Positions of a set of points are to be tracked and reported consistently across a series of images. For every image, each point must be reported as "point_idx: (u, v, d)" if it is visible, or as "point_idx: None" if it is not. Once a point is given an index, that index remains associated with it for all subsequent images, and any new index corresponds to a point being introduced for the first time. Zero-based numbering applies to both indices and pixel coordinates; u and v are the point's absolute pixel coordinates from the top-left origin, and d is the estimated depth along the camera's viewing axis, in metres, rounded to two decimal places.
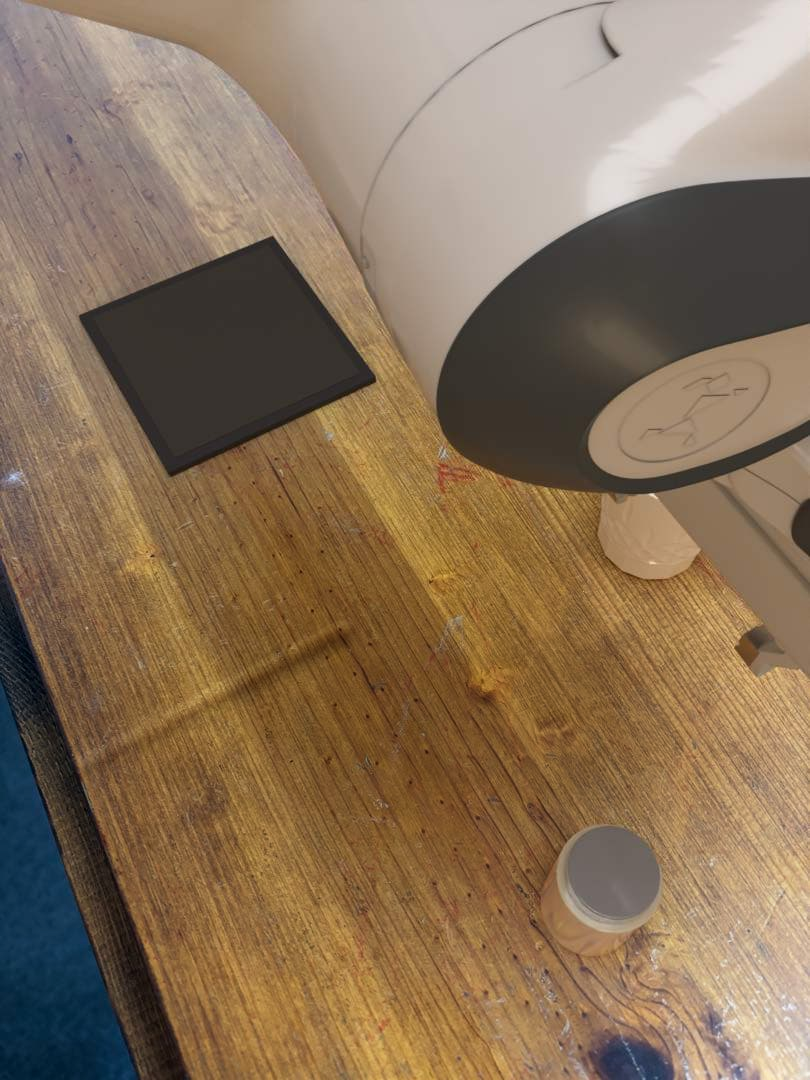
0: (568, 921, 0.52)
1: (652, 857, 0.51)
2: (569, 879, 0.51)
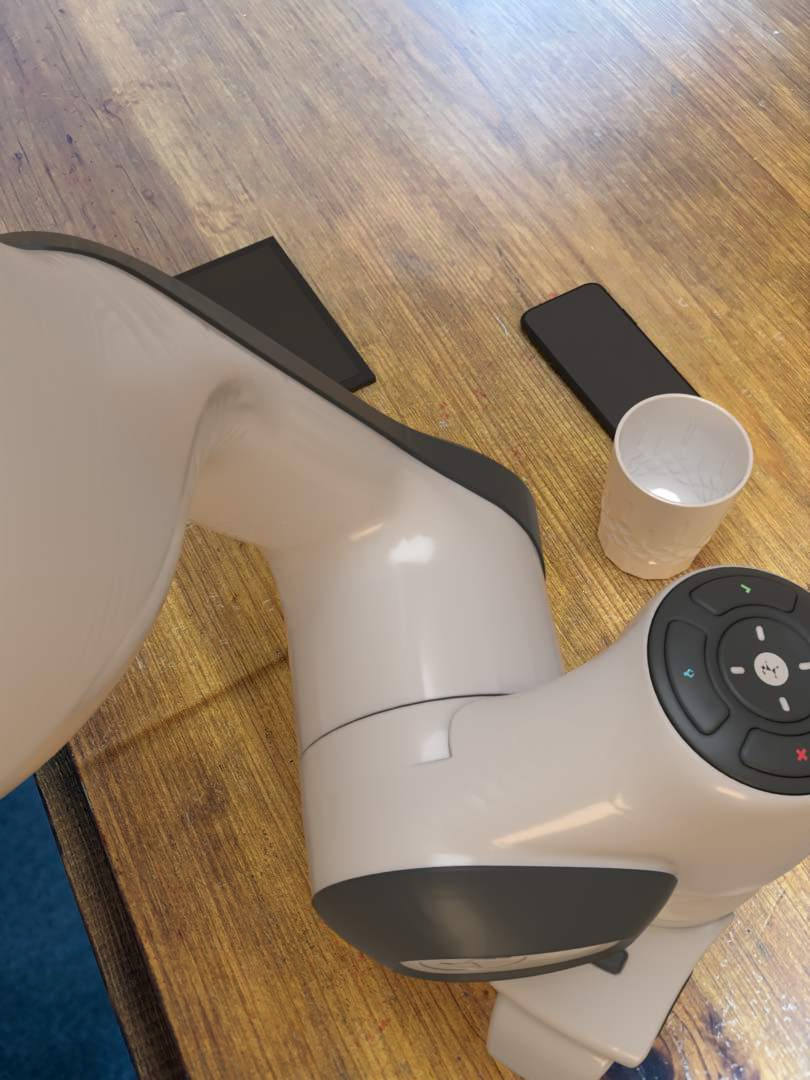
0: None
1: None
2: None
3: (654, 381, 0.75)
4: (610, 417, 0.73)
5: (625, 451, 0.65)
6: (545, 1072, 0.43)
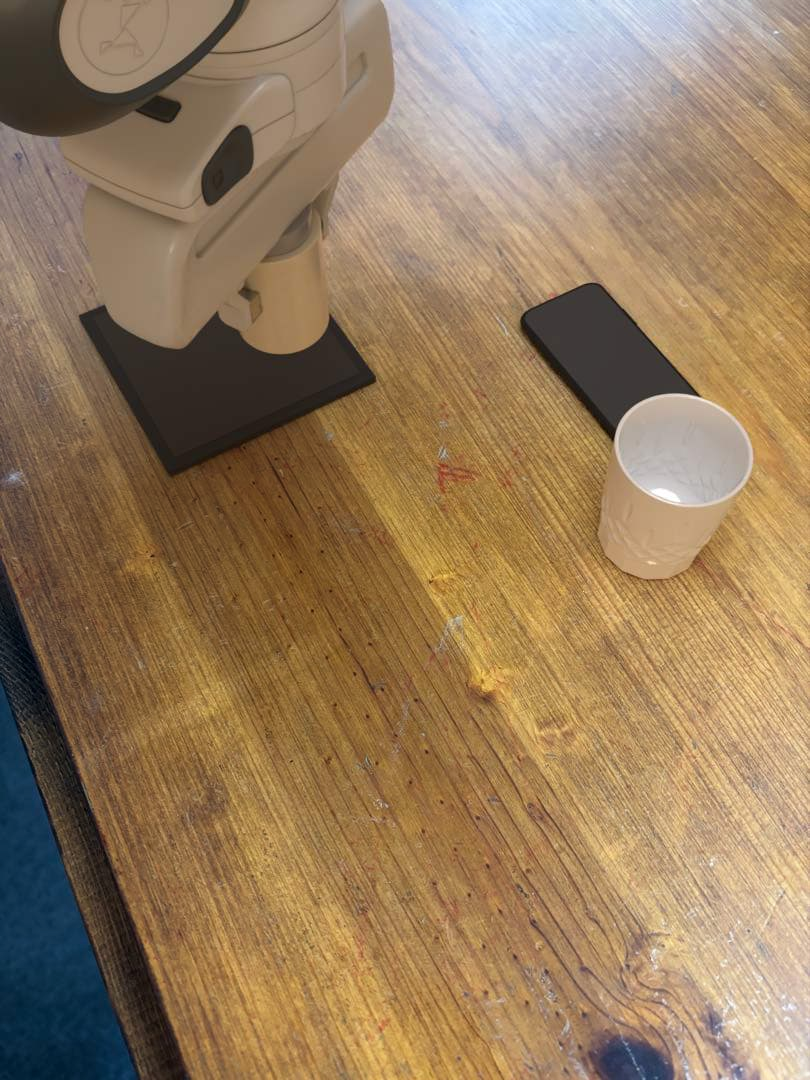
0: None
1: None
2: None
3: (654, 381, 0.75)
4: (610, 417, 0.73)
5: (625, 451, 0.65)
6: (137, 285, 0.45)
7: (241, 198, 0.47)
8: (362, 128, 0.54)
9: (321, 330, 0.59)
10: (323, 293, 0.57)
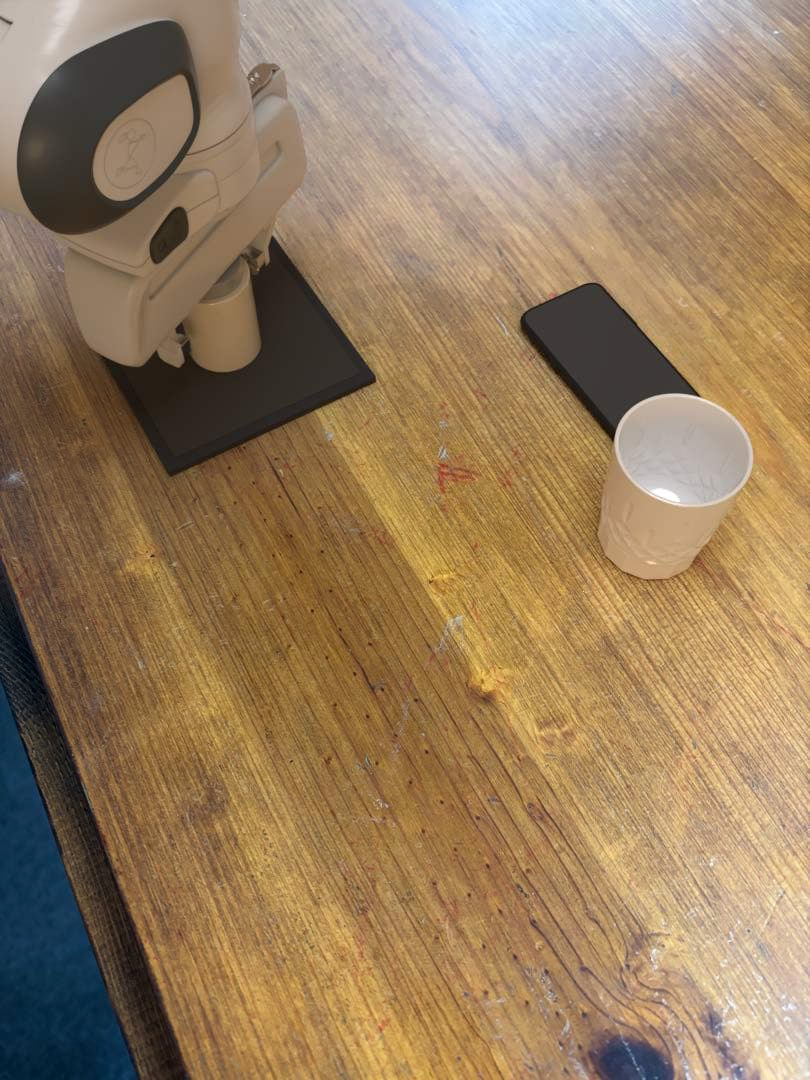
0: None
1: None
2: None
3: (654, 381, 0.75)
4: (610, 417, 0.73)
5: (625, 451, 0.65)
6: (105, 320, 0.61)
7: (183, 254, 0.64)
8: (280, 195, 0.70)
9: (254, 353, 0.75)
10: (254, 325, 0.74)
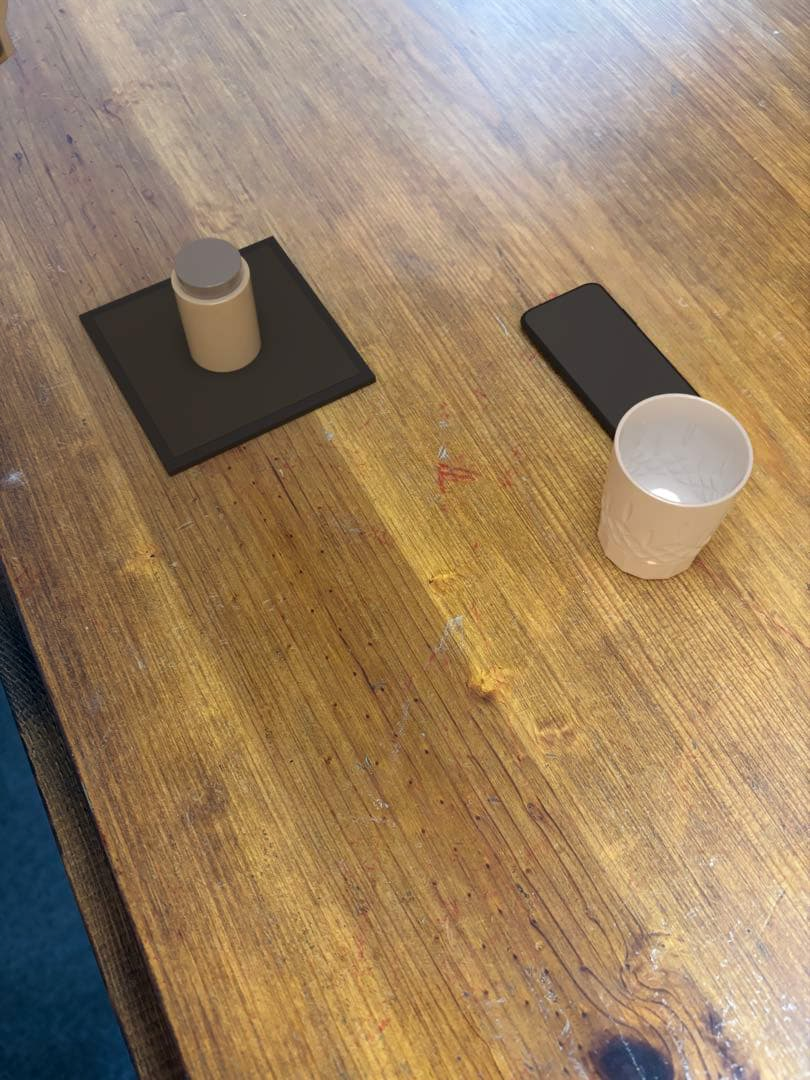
0: (183, 312, 0.71)
1: (237, 254, 0.70)
2: (174, 266, 0.69)
3: (654, 381, 0.75)
4: (610, 417, 0.73)
5: (625, 451, 0.65)
6: None
7: None
8: None
9: (254, 353, 0.75)
10: (254, 325, 0.74)
